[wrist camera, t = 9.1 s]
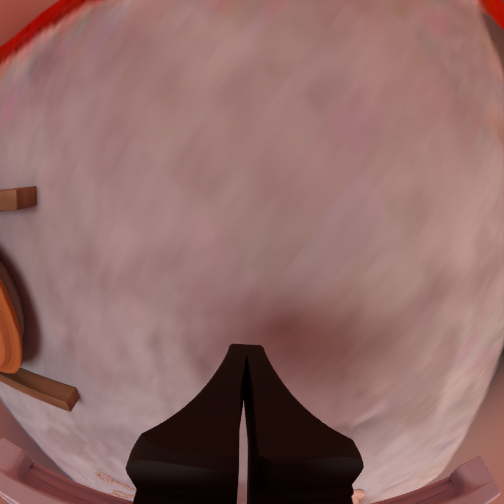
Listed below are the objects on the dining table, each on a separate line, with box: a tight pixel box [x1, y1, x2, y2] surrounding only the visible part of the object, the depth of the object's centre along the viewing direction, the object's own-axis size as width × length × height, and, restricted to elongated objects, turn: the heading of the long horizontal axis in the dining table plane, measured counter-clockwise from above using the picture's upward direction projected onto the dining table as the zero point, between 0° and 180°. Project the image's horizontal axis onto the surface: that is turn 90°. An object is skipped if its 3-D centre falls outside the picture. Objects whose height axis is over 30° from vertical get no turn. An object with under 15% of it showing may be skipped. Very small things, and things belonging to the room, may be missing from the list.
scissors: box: [96, 472, 136, 499], centre depth 31 cm, size 11×1×20 cm
